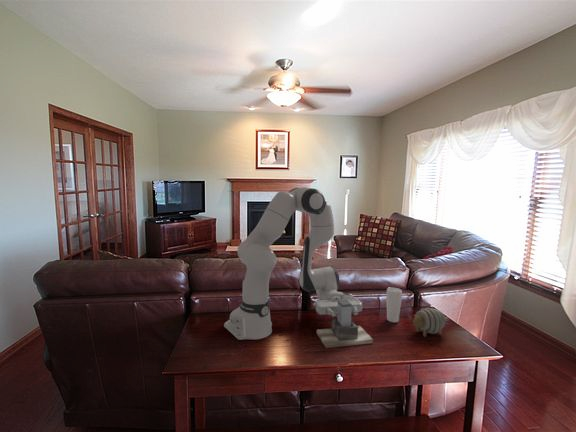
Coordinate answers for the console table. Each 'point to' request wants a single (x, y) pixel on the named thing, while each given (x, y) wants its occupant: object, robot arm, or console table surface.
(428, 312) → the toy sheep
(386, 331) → the console table surface
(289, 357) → the console table surface
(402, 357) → the console table surface
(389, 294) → the drinking glass
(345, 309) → the grey tall block
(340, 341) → the post socket
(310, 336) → the console table surface
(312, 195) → the robot arm
